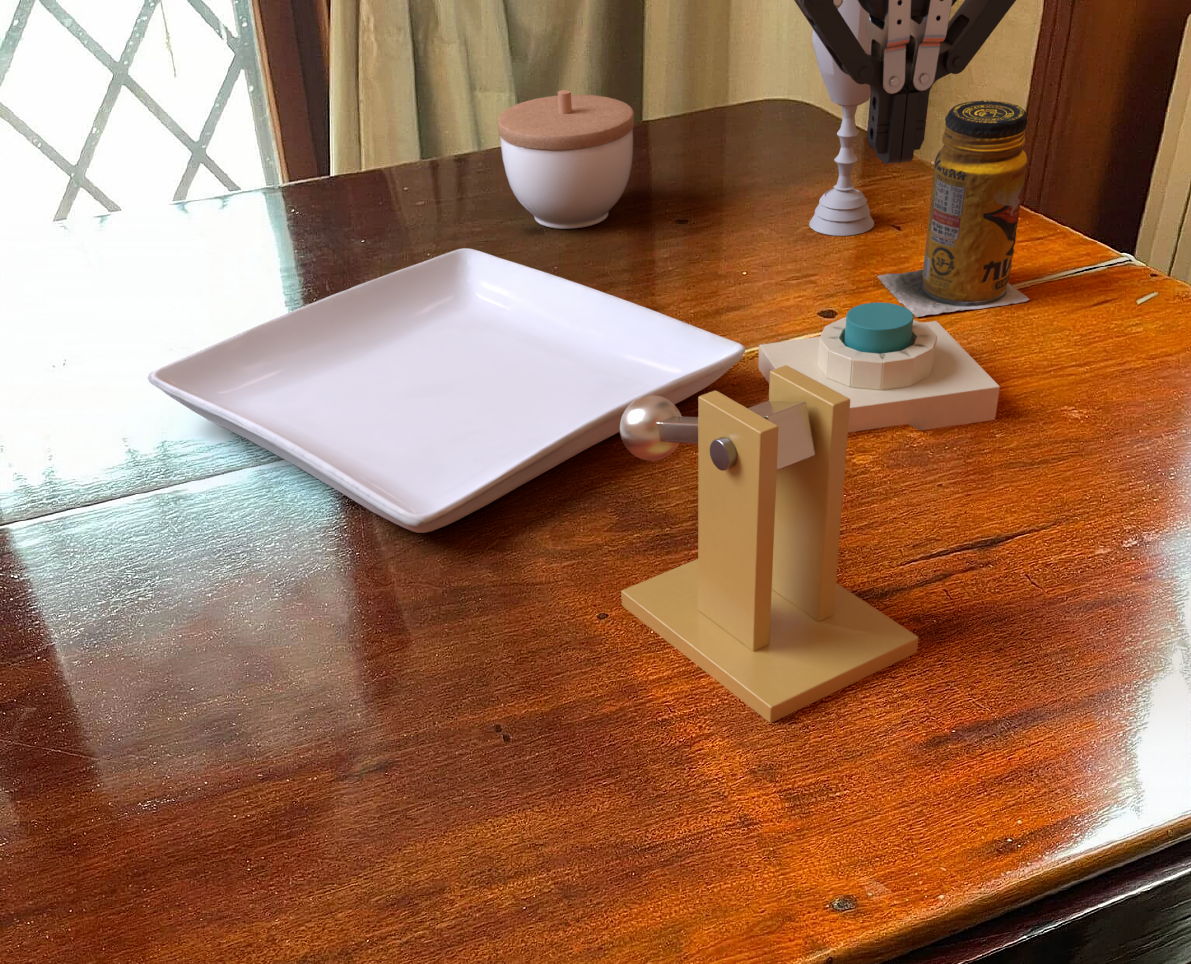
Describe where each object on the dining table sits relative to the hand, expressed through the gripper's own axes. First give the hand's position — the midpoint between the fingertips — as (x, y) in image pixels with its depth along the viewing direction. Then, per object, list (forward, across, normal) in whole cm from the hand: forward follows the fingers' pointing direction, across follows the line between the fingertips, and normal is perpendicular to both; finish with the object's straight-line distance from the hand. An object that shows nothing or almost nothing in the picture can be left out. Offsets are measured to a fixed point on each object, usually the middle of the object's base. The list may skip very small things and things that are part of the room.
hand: (892, 158), depth 79 cm
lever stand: (+14, +14, +23) cm, 31 cm away
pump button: (+11, 0, 0) cm, 11 cm away
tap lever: (+7, +15, +19) cm, 26 cm away
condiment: (+14, -11, -14) cm, 23 cm away
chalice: (+15, -8, -29) cm, 33 cm away
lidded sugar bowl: (+15, +12, -38) cm, 42 cm away
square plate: (+15, +26, -6) cm, 30 cm away
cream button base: (+14, 0, 0) cm, 14 cm away
